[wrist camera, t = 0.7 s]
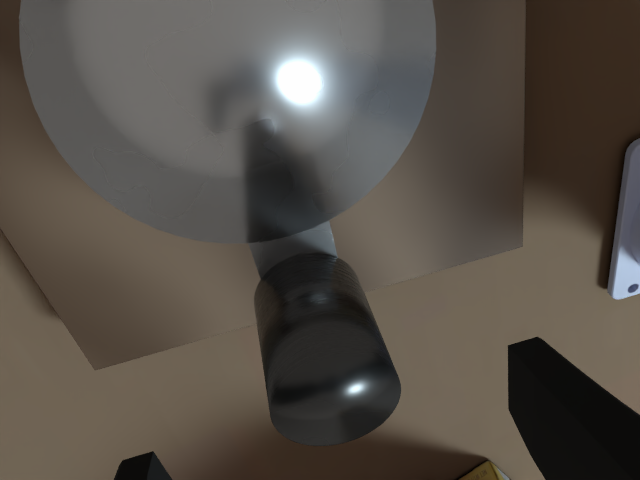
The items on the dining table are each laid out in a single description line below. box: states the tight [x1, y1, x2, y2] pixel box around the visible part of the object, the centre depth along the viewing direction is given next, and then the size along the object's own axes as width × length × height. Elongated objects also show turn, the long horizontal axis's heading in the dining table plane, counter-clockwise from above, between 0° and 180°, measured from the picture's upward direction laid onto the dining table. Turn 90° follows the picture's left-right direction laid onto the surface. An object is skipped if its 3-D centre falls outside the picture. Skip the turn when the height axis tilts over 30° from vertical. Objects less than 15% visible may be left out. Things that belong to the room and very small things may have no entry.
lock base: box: [0, 0, 526, 370], centre depth 15 cm, size 16×20×4 cm
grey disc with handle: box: [19, 0, 436, 446], centre depth 12 cm, size 11×8×6 cm
